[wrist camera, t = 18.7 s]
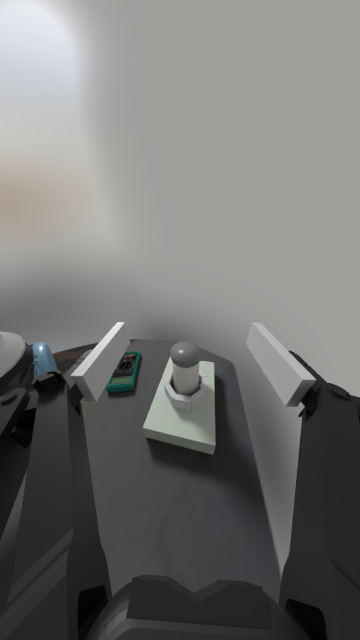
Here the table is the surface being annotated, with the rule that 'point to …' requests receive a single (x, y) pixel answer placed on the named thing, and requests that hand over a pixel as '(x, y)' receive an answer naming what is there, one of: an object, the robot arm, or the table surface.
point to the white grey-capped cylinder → (185, 368)
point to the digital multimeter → (124, 373)
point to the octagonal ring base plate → (184, 412)
